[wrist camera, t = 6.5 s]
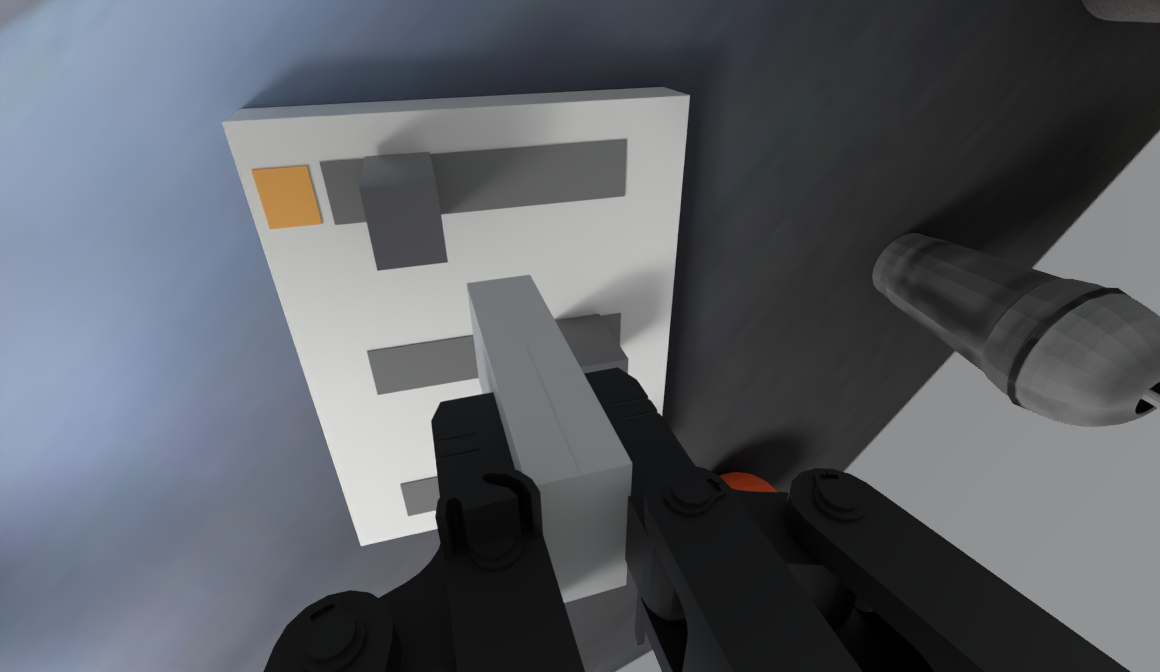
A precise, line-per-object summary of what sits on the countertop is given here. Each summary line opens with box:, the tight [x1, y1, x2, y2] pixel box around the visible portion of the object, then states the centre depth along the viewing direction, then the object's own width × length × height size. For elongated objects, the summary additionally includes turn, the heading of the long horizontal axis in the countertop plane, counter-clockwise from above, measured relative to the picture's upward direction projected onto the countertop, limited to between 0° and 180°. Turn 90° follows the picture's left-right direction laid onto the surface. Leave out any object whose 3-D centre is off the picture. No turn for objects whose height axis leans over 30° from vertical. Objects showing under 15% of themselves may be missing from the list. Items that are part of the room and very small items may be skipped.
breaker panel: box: [222, 87, 690, 546], centre depth 28 cm, size 19×24×8 cm
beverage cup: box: [872, 233, 1160, 427], centre depth 30 cm, size 7×7×20 cm
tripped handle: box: [359, 152, 448, 271], centre depth 21 cm, size 2×3×4 cm
